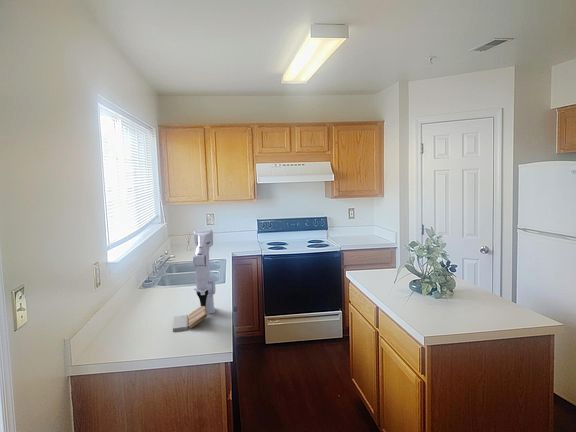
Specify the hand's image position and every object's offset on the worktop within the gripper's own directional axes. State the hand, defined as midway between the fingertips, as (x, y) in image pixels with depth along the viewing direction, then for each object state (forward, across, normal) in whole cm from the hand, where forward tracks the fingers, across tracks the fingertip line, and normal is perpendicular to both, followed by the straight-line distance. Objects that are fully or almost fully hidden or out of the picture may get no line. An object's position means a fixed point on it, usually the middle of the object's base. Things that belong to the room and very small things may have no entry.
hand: (203, 305), depth 212 cm
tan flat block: (+5, 0, -3) cm, 6 cm away
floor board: (+8, 0, -12) cm, 14 cm away
